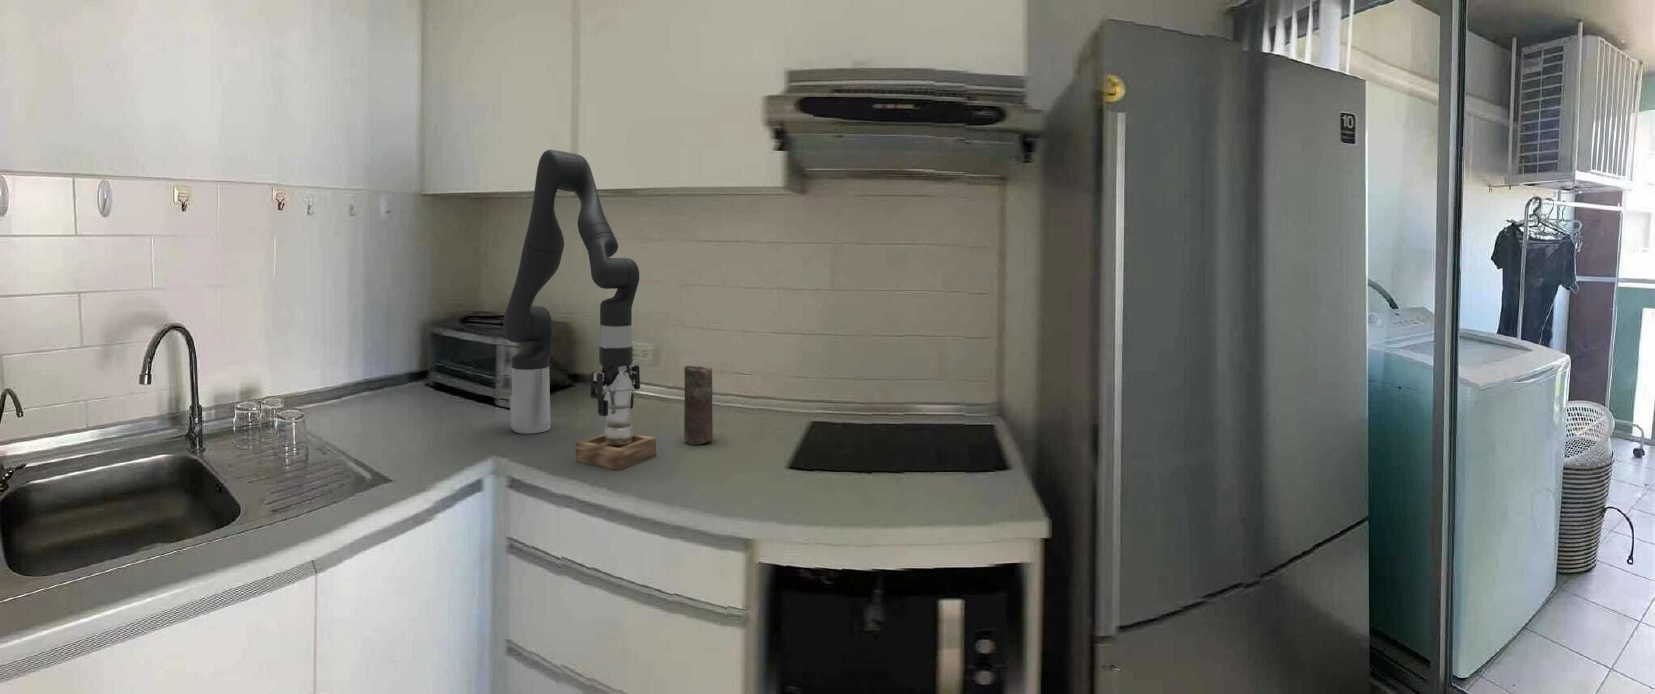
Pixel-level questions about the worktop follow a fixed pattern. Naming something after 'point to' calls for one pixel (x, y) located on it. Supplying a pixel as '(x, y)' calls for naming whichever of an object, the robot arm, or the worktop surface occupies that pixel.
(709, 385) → the candle
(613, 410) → the plastic bottle
